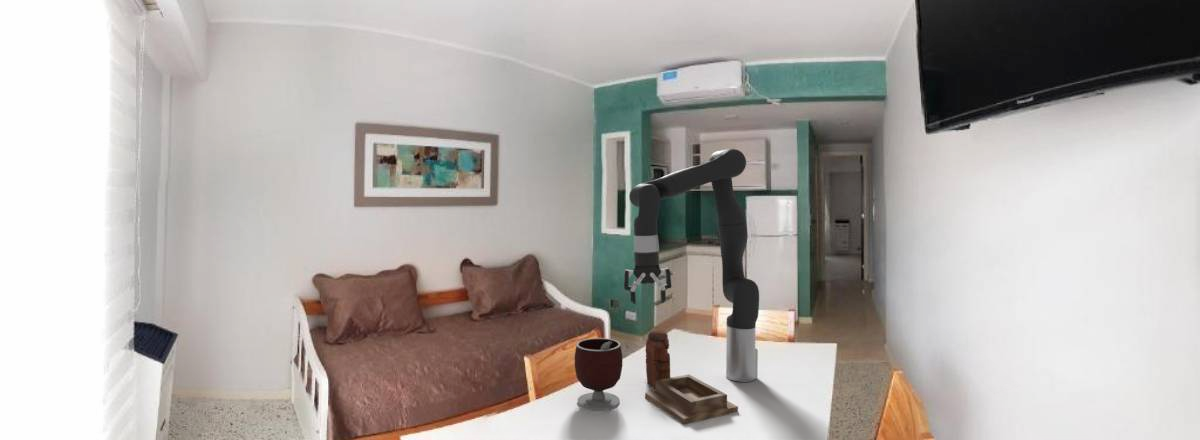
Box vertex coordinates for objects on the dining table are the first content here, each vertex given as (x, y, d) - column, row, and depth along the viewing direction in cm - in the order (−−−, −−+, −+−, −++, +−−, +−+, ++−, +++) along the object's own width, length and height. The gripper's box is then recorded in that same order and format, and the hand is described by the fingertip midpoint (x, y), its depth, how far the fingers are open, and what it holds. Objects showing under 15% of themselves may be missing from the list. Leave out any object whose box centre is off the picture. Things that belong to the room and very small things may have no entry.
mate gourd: (568, 397, 150) (567, 330, 149) (610, 390, 155) (610, 326, 154) (587, 417, 135) (587, 344, 135) (633, 409, 141) (633, 338, 140)
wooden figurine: (675, 390, 155) (675, 332, 154) (656, 392, 153) (656, 334, 152) (660, 377, 166) (660, 323, 165) (642, 379, 164) (642, 325, 164)
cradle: (694, 387, 157) (695, 371, 157) (738, 411, 139) (738, 394, 139) (645, 397, 149) (645, 380, 149) (683, 424, 131) (683, 405, 131)
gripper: (668, 247, 156) (669, 299, 157) (622, 249, 156) (624, 301, 157) (671, 250, 149) (673, 304, 150) (623, 252, 149) (625, 306, 150)
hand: (648, 302), depth 153 cm, fingers open, 8 cm apart
